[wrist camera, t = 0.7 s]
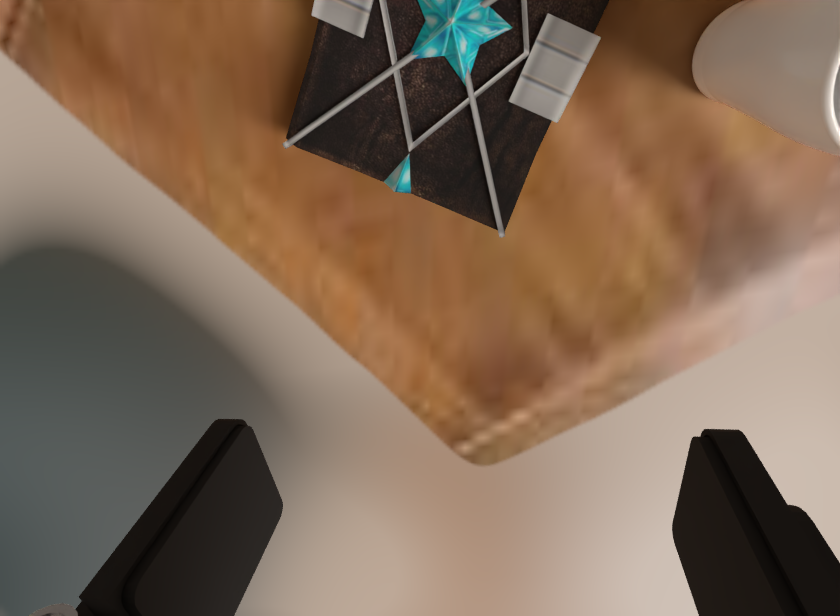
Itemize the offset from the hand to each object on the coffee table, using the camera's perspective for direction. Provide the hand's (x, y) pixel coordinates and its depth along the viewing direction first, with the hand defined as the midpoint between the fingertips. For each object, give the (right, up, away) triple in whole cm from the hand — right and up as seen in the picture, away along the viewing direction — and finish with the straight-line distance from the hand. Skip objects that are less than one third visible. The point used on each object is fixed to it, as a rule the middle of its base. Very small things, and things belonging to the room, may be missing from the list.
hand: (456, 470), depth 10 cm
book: (+2, +22, +19) cm, 29 cm away
